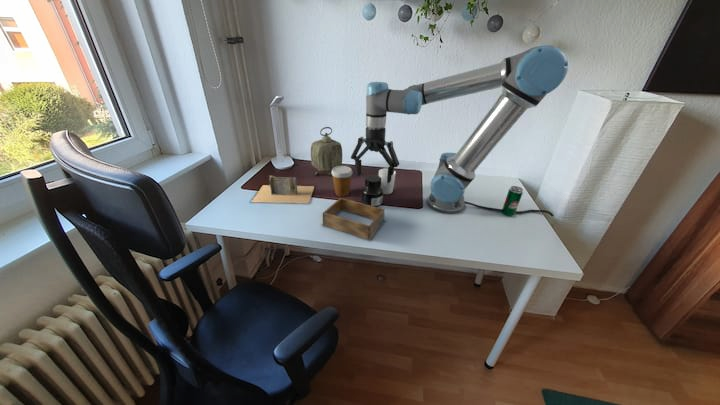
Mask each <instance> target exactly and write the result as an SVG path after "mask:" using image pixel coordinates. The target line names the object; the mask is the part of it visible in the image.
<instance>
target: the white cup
mask: <svg viewBox="0 0 720 405" xmlns="http://www.w3.org/2000/svg"><path fill="white" fill-rule="evenodd" d="M396 174H397V172H396V170H394V174H393V175H392V176H391V181H390V182H389V183H387V176H388V167H387V168H386V167H385V168H381V169H379V170H378V176H379V177H381V188H382V189H383V195H391V194H392V193H393V192H394V187H395V181H396Z"/></svg>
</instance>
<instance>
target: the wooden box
mask: <svg viewBox="0 0 720 405" xmlns="http://www.w3.org/2000/svg"><path fill="white" fill-rule="evenodd" d="M341 211H343V212H346V213H350V214H353V215H357V216H361V217H363V218H366V219H367V218H368V219H370V220H372V221H371V223H370V224H369V225H367V224H364V223H362V222H358V221H355V220H351V219H348V218H344V217H341V216H337V215H338V214H339V213H340V212H341ZM384 221H385V209H384V208H381V207H374V206H370V205H366V204H363V203H362V202H358V201H355V200H351V199H347V198H344V197H339V198H338V199H337V200H336V201H334V203H333V204H331V205H330V206H328V208H327V209H325V210H324V211H323V212H322V225H323V226H325V227H328V228H331V229H333V230H337V231H340V232H343V233H346V234H349V235H352V236H356V237H358V238H362V239H365V240H368V241H370V240H371V239H372V238H373V236H374V235H375V234H376V233H377V231H378V230H379V228H380V227H381V225H382V224H383V223H384Z"/></svg>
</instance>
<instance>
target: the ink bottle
mask: <svg viewBox="0 0 720 405" xmlns="http://www.w3.org/2000/svg"><path fill="white" fill-rule="evenodd" d="M383 198H384V194H383V189H382V188H381V177H379V175H376V174H370V175H369V174H368V175H367V176H365V178H364V187H363V188H362V190H361V203H363V204H366V205H370V206H374V207H377V208H380V207H381V206H382V204H383Z"/></svg>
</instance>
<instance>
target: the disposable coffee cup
mask: <svg viewBox="0 0 720 405" xmlns="http://www.w3.org/2000/svg"><path fill="white" fill-rule="evenodd" d="M330 172H331V174H332V175H331V176H332V180H333V187H334V194H335V195H336V196H337V197H340V198H344V197H347V196H349V195H350V188H351V182H352V175H353V173H354V172H353V170H352V168H351V167H349V166H346V165H341V166H337V167H334V168H333V169H332V170H330Z"/></svg>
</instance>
